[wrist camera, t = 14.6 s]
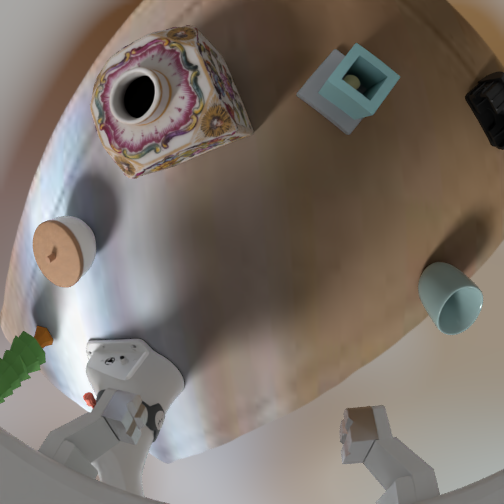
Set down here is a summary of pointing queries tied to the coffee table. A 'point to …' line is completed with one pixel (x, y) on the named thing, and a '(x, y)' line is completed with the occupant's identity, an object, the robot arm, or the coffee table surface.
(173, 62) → the decorative jar
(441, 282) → the cup
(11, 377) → the decorative tree
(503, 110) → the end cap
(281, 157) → the coffee table surface
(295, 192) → the coffee table surface
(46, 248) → the lidded jar
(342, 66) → the collar
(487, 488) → the robot arm
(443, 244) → the coffee table surface
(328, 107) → the shaft block
